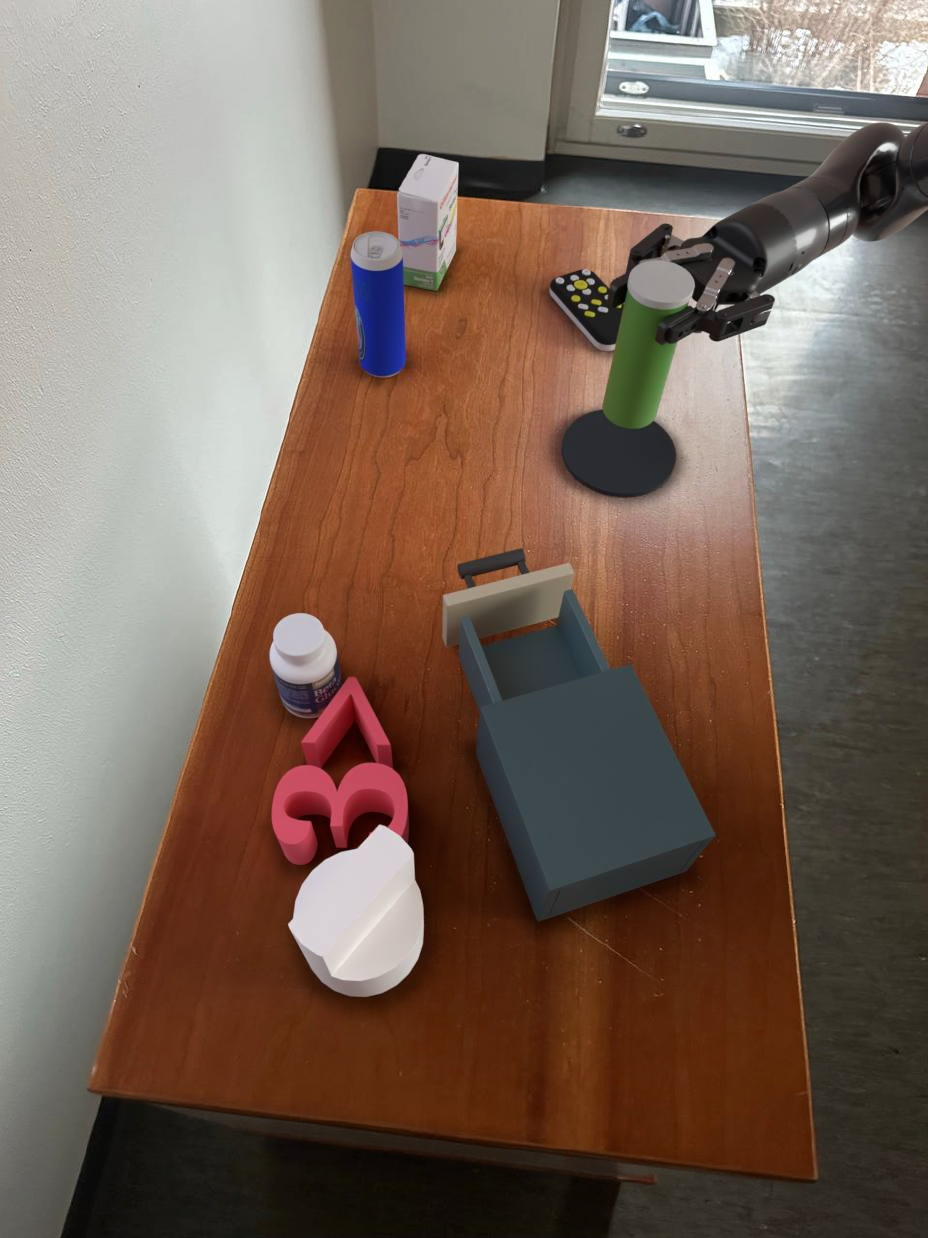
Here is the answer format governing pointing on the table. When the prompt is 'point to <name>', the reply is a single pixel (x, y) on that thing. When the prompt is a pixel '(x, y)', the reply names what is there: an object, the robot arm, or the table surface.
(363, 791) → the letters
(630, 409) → the chip tube
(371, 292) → the beverage can
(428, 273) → the ink box
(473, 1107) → the table surface
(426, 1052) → the table surface
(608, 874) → the cabinet
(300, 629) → the pill bottle
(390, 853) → the cylinder with rectangular tab
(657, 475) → the mat
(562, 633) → the drawer
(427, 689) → the table surface
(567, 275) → the remote control
